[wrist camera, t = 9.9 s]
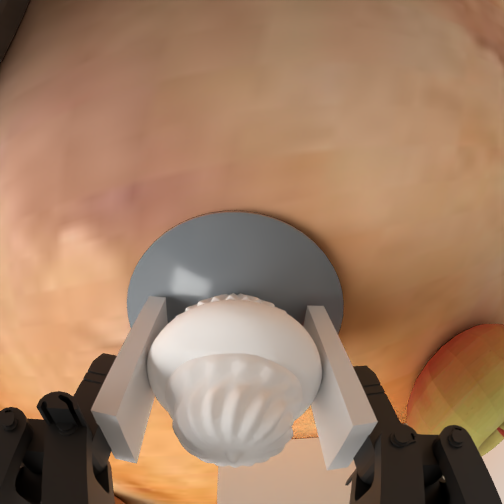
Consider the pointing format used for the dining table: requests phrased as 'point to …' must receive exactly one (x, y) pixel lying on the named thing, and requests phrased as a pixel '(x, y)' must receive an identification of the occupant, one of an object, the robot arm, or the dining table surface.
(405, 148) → the dining table surface
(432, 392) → the apple
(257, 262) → the coaster
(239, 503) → the cubby
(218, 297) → the white rounded ribbed piece
